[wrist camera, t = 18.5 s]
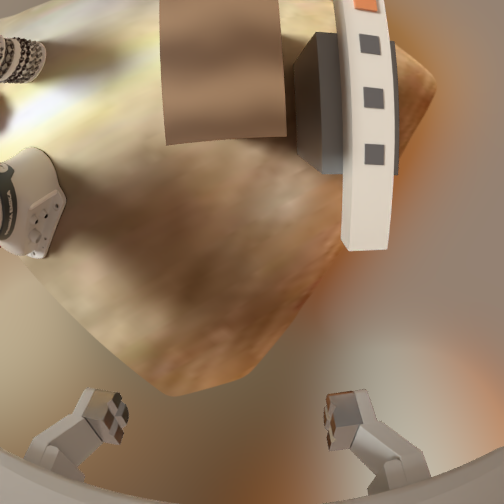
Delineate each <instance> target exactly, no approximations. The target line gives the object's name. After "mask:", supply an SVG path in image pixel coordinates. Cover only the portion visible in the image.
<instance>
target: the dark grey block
mask: <svg viewBox="0 0 504 504" xmlns="http://www.w3.org/2000/svg"><path fill="white" fill-rule="evenodd" d="M390 50H391V60H392V73H393V89H394V120H395V145H394V175H398V164H399V95H398V76H397V63H396V52H395V42H394V41H390ZM293 70H294V87H295V106H296V130H297V154H298V155H299V156H300V157H301V158H303V159H304V160H305V161H307V162H308V163H309V164H310V165H312V166H313V167H314V168H315V169H317V170H318V171H319V172H320V173H322V174H343V118H342V93H341V76H340V61H339V49H338V38H337V33H324V32H316V33H315V34H314V35H313V37H312V38H311V40H310V41H309V43H308V44H307V45H306V47H305V48H304V50H303V51H302V53H301V54H300V56H299V57H298V59H297V60H296V62H295V63H294V65H293Z"/></svg>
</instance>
